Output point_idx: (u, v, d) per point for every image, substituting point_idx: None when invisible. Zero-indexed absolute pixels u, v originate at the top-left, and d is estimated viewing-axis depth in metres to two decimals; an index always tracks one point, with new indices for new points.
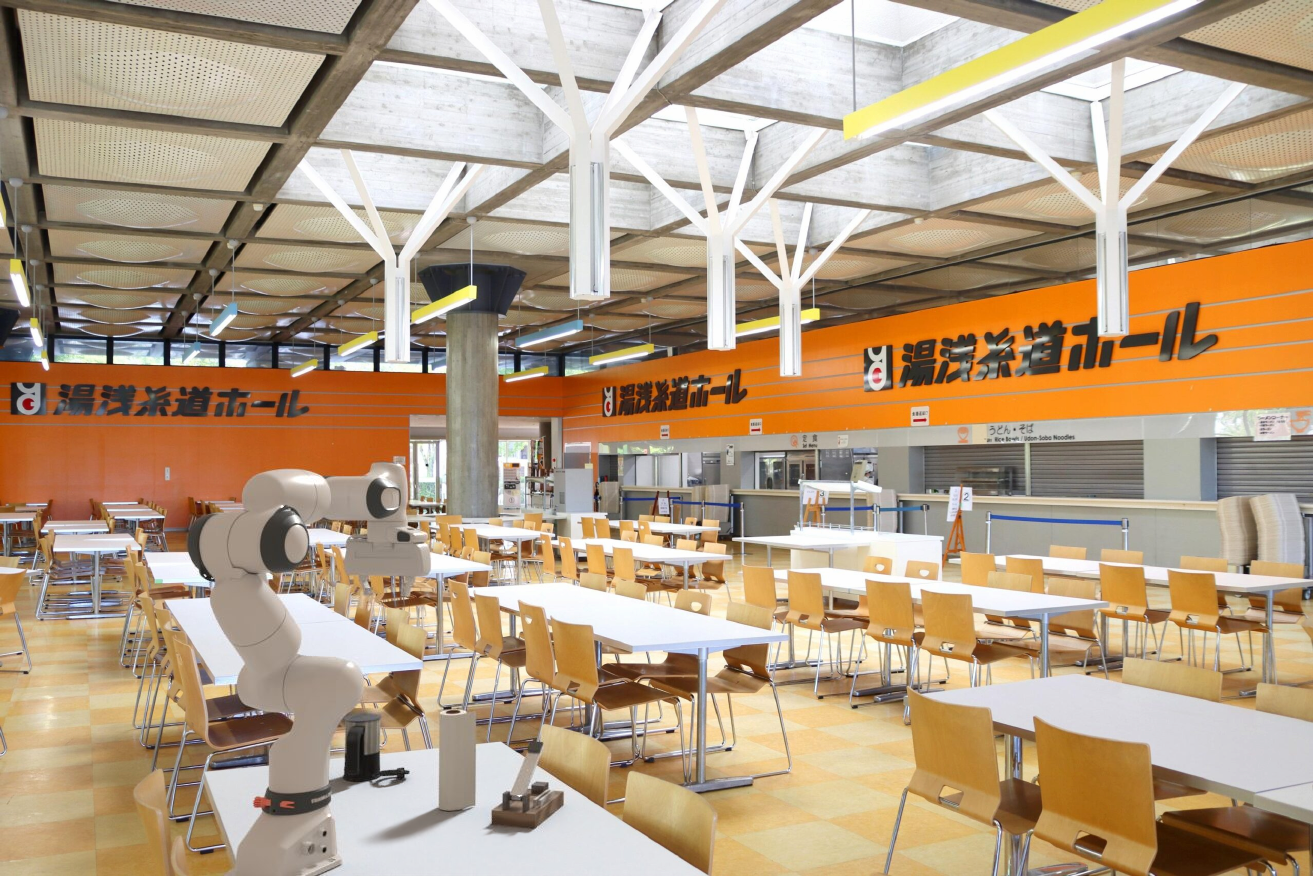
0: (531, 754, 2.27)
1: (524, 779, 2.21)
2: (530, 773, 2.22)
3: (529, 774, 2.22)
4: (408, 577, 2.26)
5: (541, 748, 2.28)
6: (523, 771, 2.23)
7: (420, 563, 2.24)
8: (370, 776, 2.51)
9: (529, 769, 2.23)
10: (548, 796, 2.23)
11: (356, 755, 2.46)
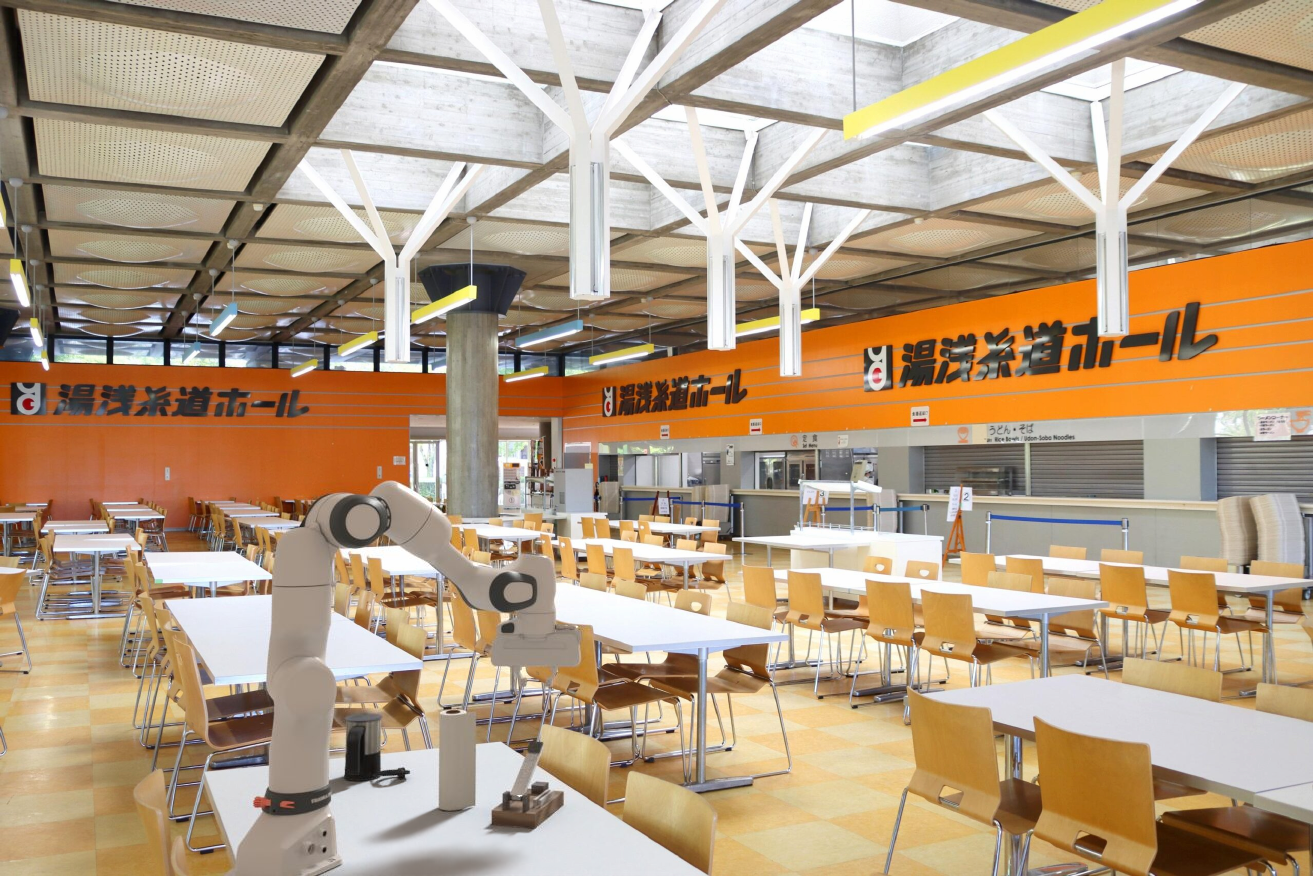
0: (531, 754, 2.27)
1: (524, 779, 2.21)
2: (530, 773, 2.22)
3: (529, 774, 2.22)
4: None
5: (541, 748, 2.28)
6: (523, 771, 2.23)
7: None
8: (371, 776, 2.51)
9: (529, 769, 2.23)
10: (548, 796, 2.23)
11: (356, 755, 2.46)
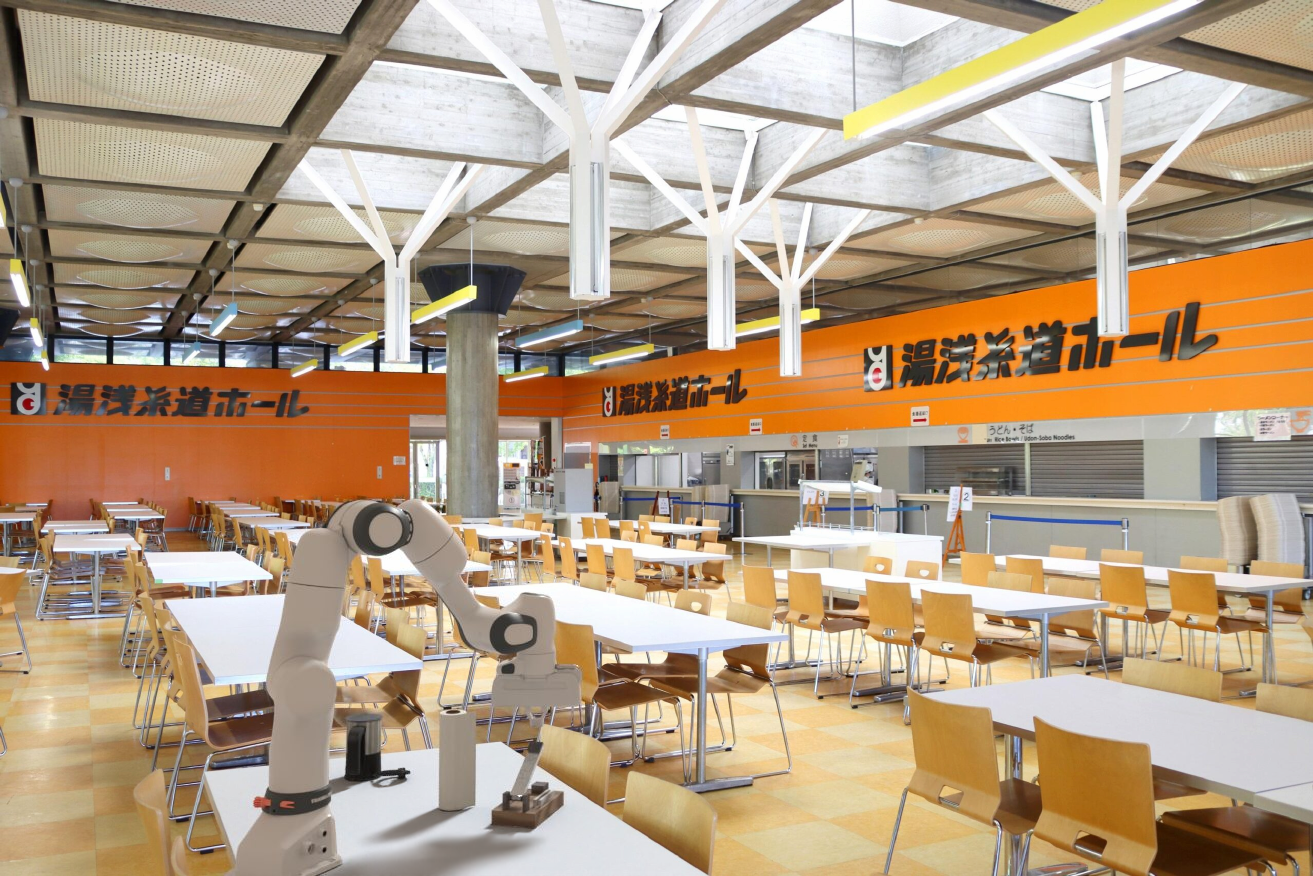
0: (531, 754, 2.27)
1: (524, 779, 2.21)
2: (530, 773, 2.22)
3: (529, 774, 2.22)
4: None
5: (541, 748, 2.28)
6: (523, 771, 2.23)
7: None
8: (371, 776, 2.51)
9: (529, 769, 2.23)
10: (548, 796, 2.23)
11: (357, 755, 2.46)
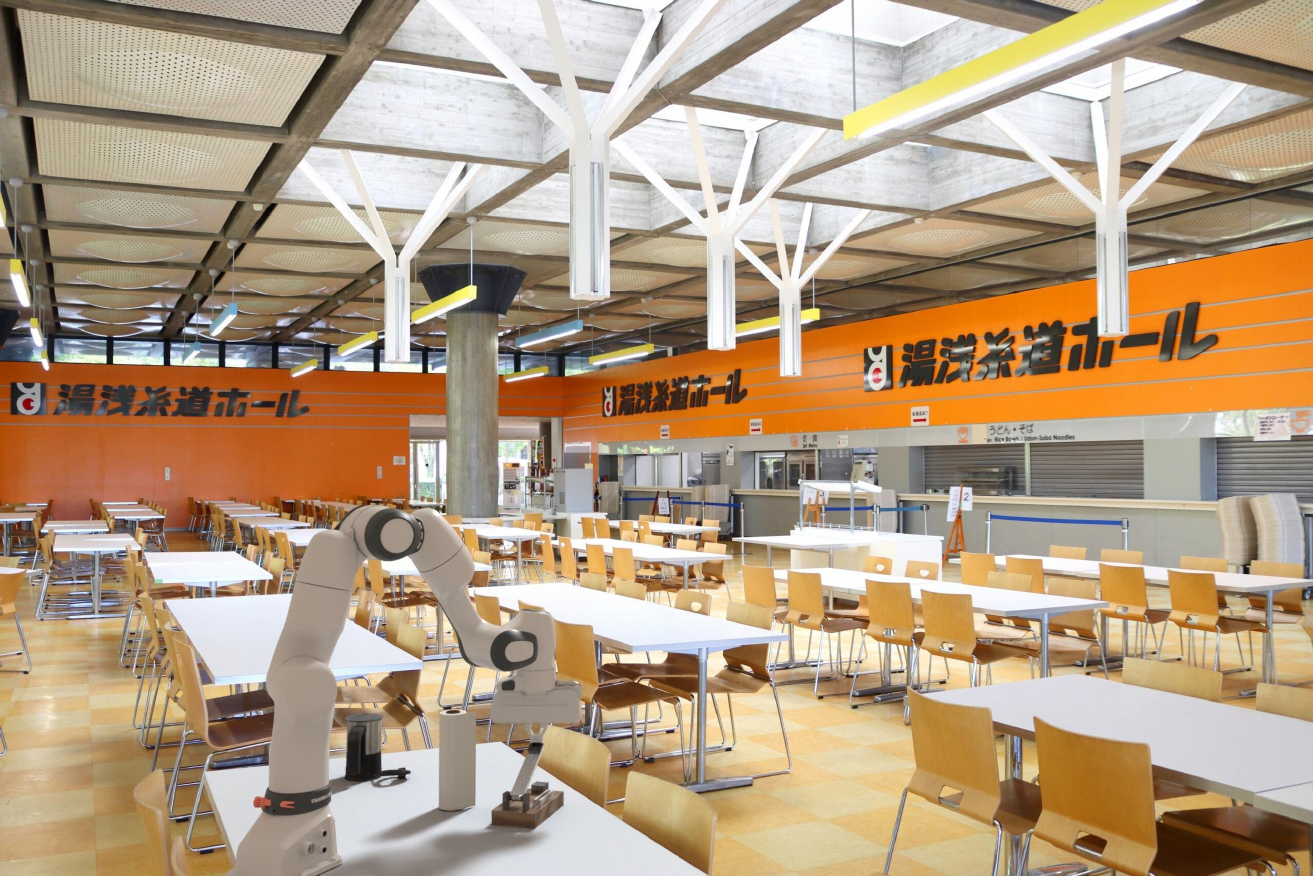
0: (532, 755, 2.27)
1: (524, 779, 2.21)
2: (530, 773, 2.22)
3: (529, 774, 2.22)
4: None
5: (541, 749, 2.28)
6: (523, 771, 2.23)
7: None
8: (371, 776, 2.51)
9: (529, 770, 2.23)
10: (548, 796, 2.23)
11: (357, 755, 2.46)
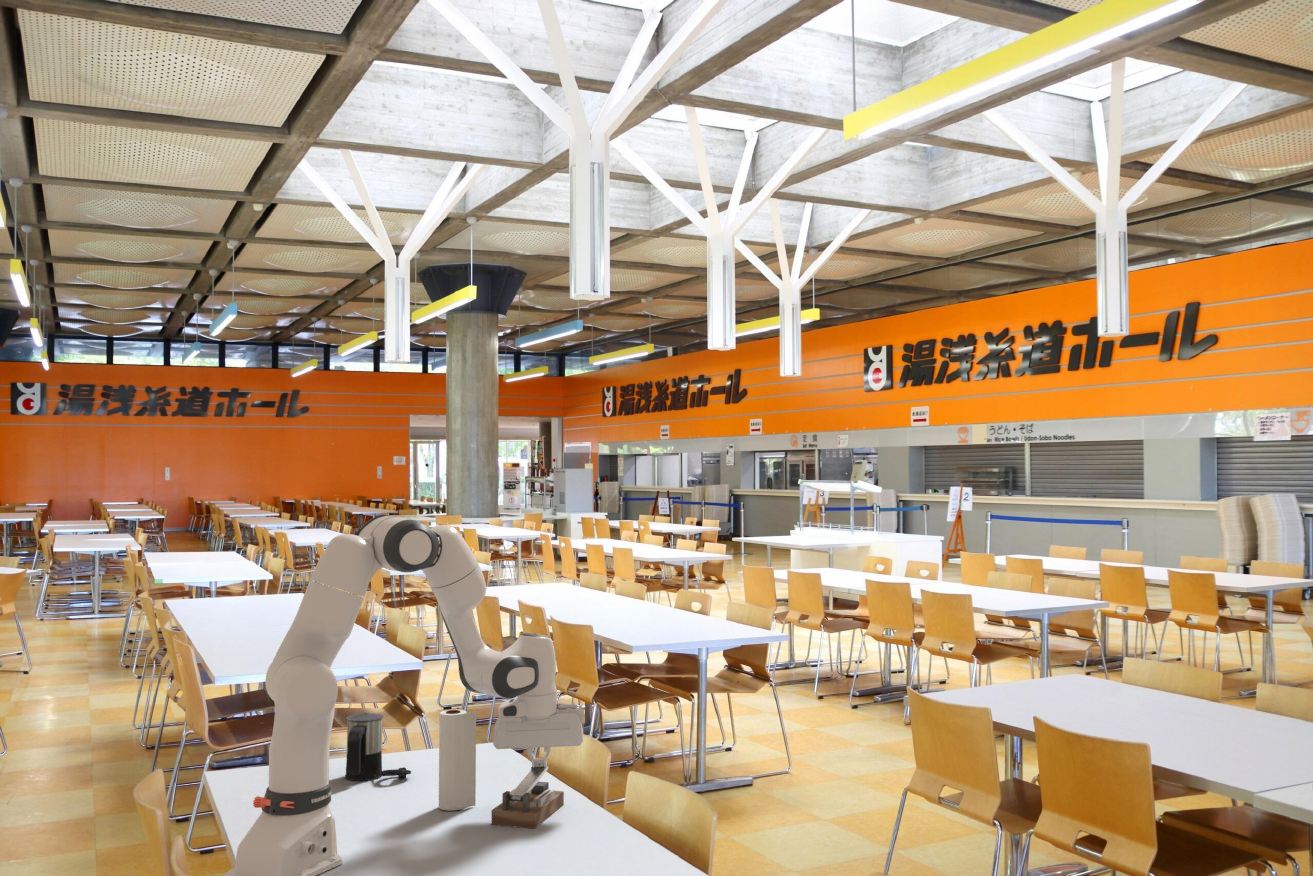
0: (535, 771, 2.28)
1: (526, 786, 2.22)
2: (532, 782, 2.23)
3: (531, 783, 2.23)
4: None
5: (545, 768, 2.30)
6: (525, 781, 2.24)
7: None
8: (372, 776, 2.51)
9: (531, 780, 2.24)
10: (548, 796, 2.23)
11: (357, 755, 2.46)
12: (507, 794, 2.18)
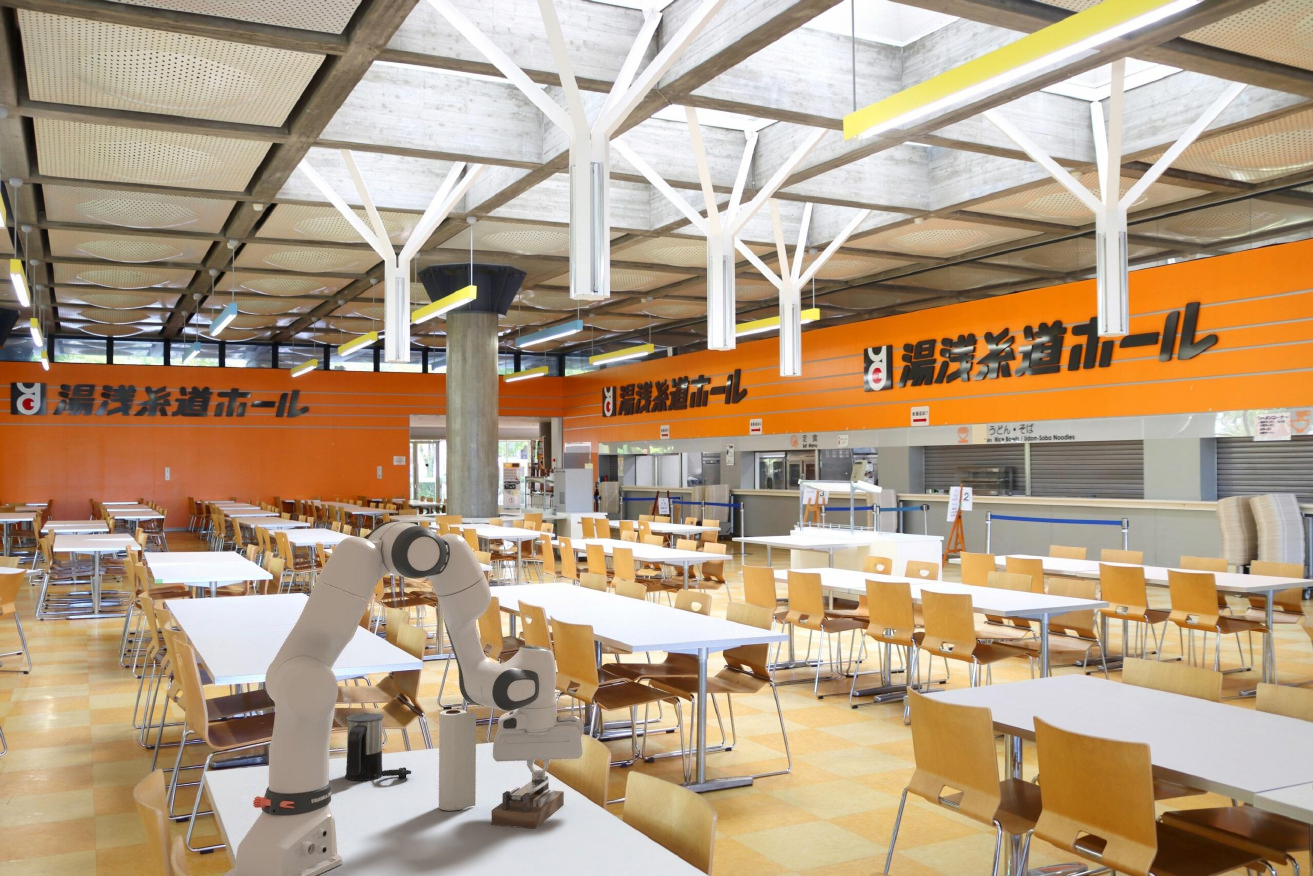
0: (535, 782, 2.29)
1: (526, 790, 2.22)
2: (532, 788, 2.23)
3: (531, 789, 2.23)
4: None
5: (545, 780, 2.30)
6: (526, 787, 2.24)
7: None
8: (372, 776, 2.51)
9: (531, 787, 2.24)
10: (548, 796, 2.23)
11: (358, 755, 2.46)
12: (507, 794, 2.18)
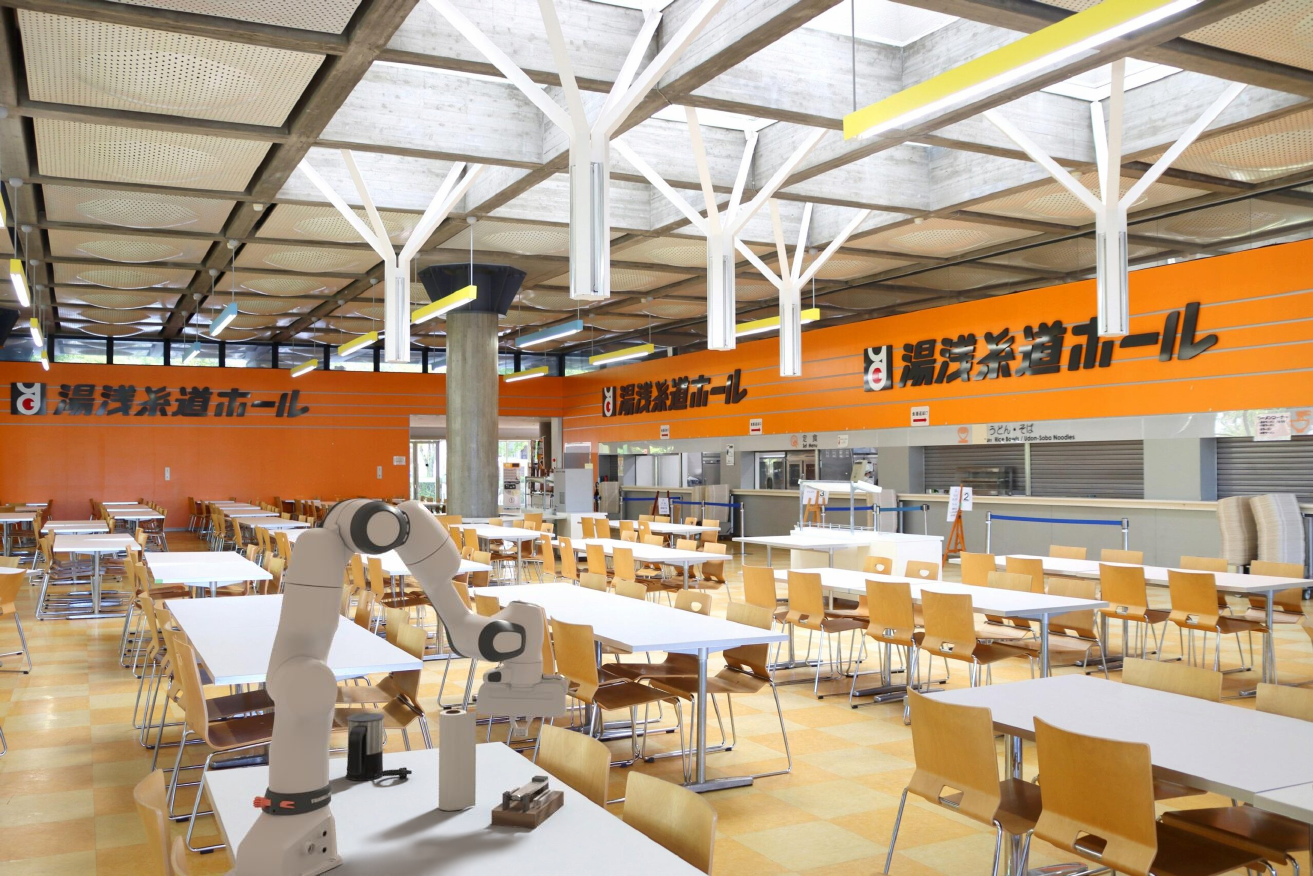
0: (535, 782, 2.29)
1: (526, 790, 2.22)
2: (532, 788, 2.23)
3: (531, 789, 2.23)
4: None
5: (545, 780, 2.30)
6: (526, 787, 2.24)
7: None
8: (372, 776, 2.51)
9: (531, 787, 2.24)
10: (548, 796, 2.23)
11: (358, 755, 2.46)
12: (507, 794, 2.18)
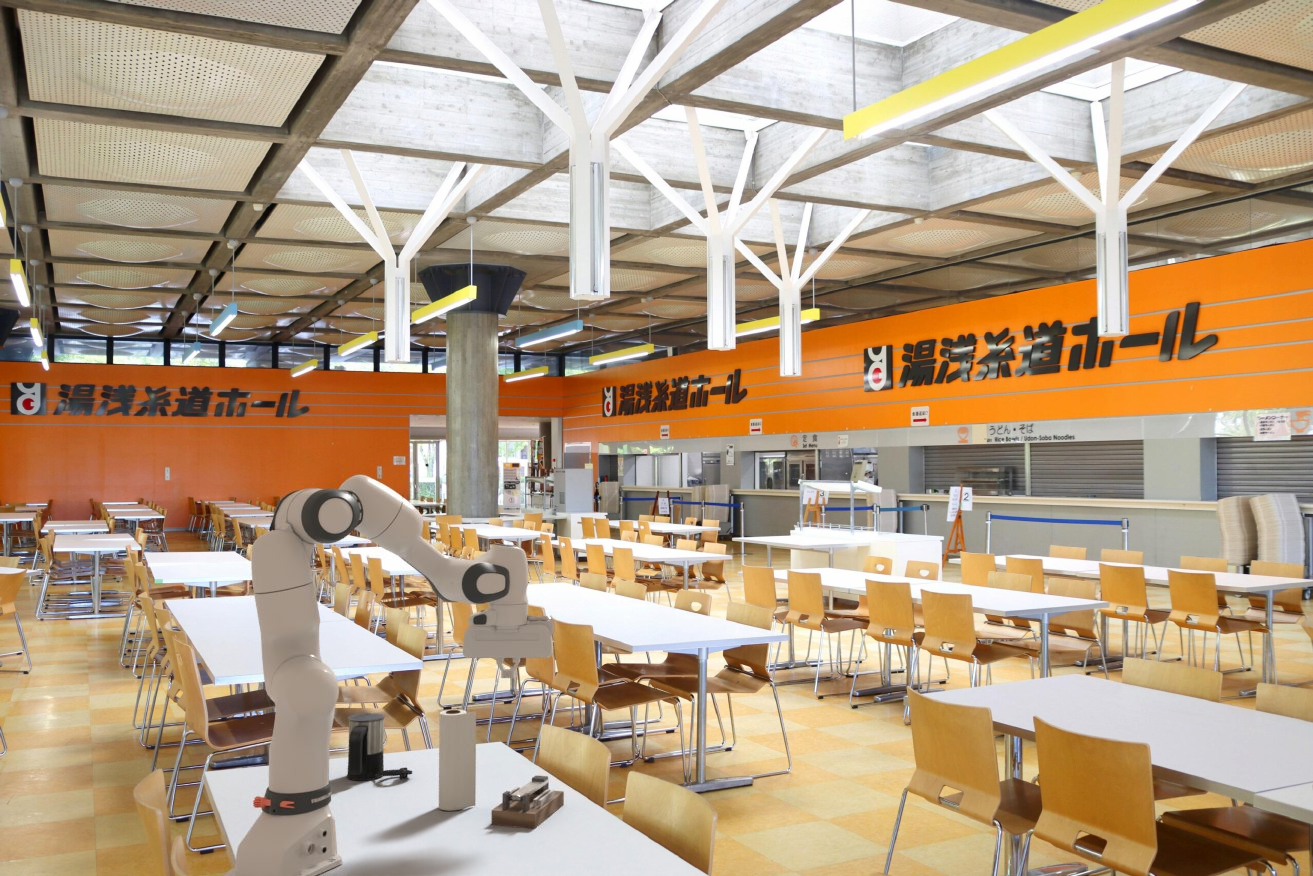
0: (535, 782, 2.29)
1: (526, 790, 2.22)
2: (532, 788, 2.23)
3: (531, 789, 2.23)
4: None
5: (545, 780, 2.30)
6: (526, 787, 2.24)
7: None
8: (373, 776, 2.51)
9: (531, 787, 2.24)
10: (548, 796, 2.23)
11: (359, 755, 2.46)
12: (507, 794, 2.18)
